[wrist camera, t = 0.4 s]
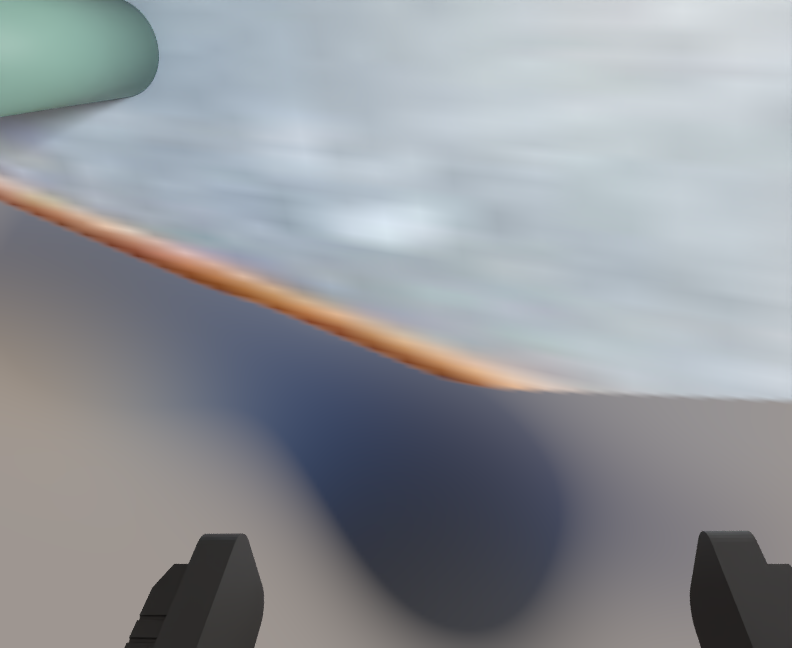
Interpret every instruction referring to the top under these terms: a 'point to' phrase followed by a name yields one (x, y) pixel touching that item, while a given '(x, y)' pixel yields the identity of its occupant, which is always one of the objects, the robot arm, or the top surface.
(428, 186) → the top surface
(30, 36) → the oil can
